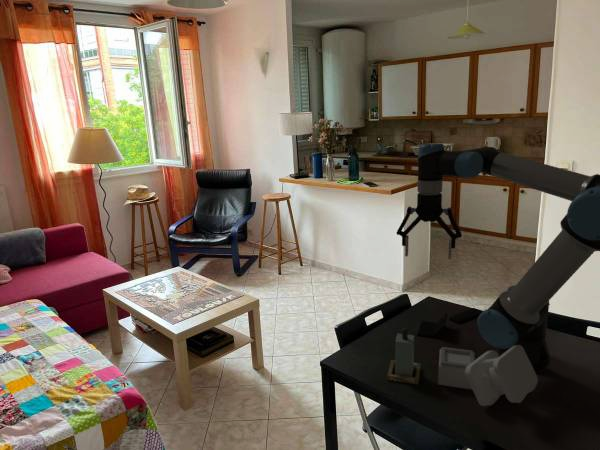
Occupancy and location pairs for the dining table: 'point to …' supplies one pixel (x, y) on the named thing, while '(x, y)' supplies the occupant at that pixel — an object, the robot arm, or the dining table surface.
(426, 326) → the handheld gaming console
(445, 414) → the dining table surface
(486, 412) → the dining table surface
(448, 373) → the grey square recessed block
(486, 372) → the cable organizer
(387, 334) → the dining table surface
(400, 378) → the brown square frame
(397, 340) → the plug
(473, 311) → the remote control
